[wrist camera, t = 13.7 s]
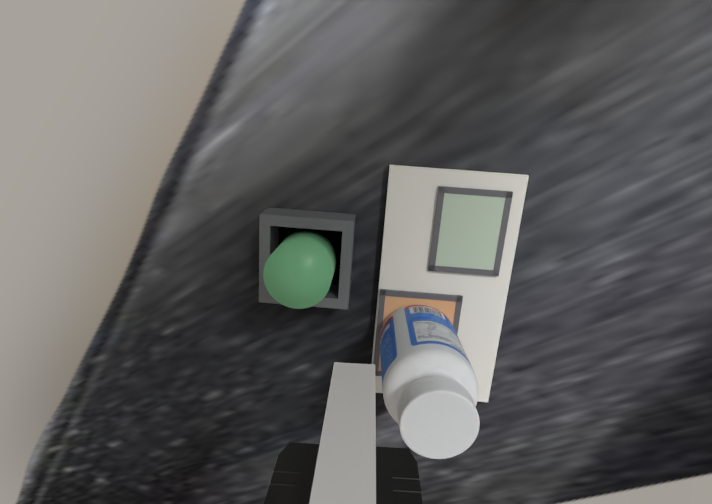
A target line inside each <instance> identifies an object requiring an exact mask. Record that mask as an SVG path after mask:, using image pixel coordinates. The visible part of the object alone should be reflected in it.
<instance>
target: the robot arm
mask: <svg viewBox="0 0 712 504" xmlns="http://www.w3.org/2000/svg"><path fill="white" fill-rule="evenodd" d="M264 504H422V496H421V489H420V481H419V474H418V466H417V462H416V460H415V458H414V457H413V455H412V454H411V452H410V451H409V449H405V448H389V447H376V394H375V364H357V363H339V362H334V366H333V372H332V378H331V383H330V389H329V395H328V400H327V406H326V411H325V417H324V423H323V428H322V434H321V440H320V444H306V443H289V444H288V445H287V446H286V447H285V448H284V450H283V451H282V452H281V453H280V454H279V456H278V459H277V463H276V466H275V469H274V473H273V476H272V479H271V484H270V486H269V489H268V493H267V496H266V499H265V503H264Z"/></svg>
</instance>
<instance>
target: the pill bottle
mask: <svg viewBox="0 0 712 504" xmlns="http://www.w3.org/2000/svg"><path fill="white" fill-rule="evenodd" d="M380 358H381V375H382V390H383V399H384V403H385V406H386V408H387V410H388V412H389V414H390V415H391V417H392V418H393V419H394V420H395V421H396V422H397V423H398V424H399V429H400V433H401V436H402V438H403V440H404V442H405V443H406V445H407V446H408V447H409V448H410V449H411V450H413V451H414V452H416V453H417V454H419V455H421V456H424V457H428V458H432V459H445V458H450V457H453V456H456V455H458V454H461V453H462V452H464V451H465V450H466V449H468V448H469V447H470V446H471V445H472V444H473V442H474V441H475V439H476V437H477V434H478V432H479V425H480V422H479V416H478V412H477V410H476V404H477V401H478V395H479V388H478V381H477V378H476V375H475V373H474V370H473V368H472V366H471V363H470V361H469V359H468V357H467V355H466V353H465V351H464V349H463V346H462V344H461V342H460V340H459V338H458V336H457V334H456V331H455V329H454V327H453V325H452V323H451V322H450V320H449V319H448V317H447V316H446V315H445V314H444V313H443V312H441V311H440V310H438V309H436V308H434V307H432V306H429V305H424V304H413V305H407V306H404V307H402V308H400V309H398V310H396V311H395V312H393V313H392V314H391V315H390V316H389V317H388V318H387V319H386V321H385V323H384V324H383V327H382V329H381V333H380Z"/></svg>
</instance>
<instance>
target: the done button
mask: <svg viewBox="0 0 712 504" xmlns="http://www.w3.org/2000/svg"><path fill="white" fill-rule="evenodd" d="M336 263H337V258H336V253H335V250H334V247H333V246H332V244H331V243H330V241H329V240H328V239H327V238H325V237H324V236H323V235H321V234H319V233H317V232H314V231H308V230H303V231H298V232H295V233H292V234H291V235H289V236H288V237H286V238H285V239H284V240H283V241H282V243H281V244H280V245H279V246H278V247H277V248H276V249H275V251H274V252H273V253H272V254H271V255H270V256H269V258H268V259H267V261H266V263H265V266H264V271H263V279H264V283H265V286H266V289H267V291H268V292H269V294H270V295H271V296H272V297H273V298H274V299H275V300H276V301H277V302H279V303H280V304H282V305H284V306H286V307H289V308H294V309H304V308H309V307H311V306H314V305H316V304H317V303H319V302H320V301H321V300H322V299H323V298H324V297H325V296H326V294H327V293H328V291H329V288H330V285H331V282H332V278H333V275H334V272H335V268H336Z"/></svg>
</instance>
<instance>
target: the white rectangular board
mask: <svg viewBox="0 0 712 504" xmlns="http://www.w3.org/2000/svg"><path fill="white" fill-rule="evenodd" d="M528 178H529V175H523V174H510V173H497V172H483V171H470V170H456V169H443V168H430V167H416V166H403V165H389V176H388V187H387V198H386V209H385V220H384V231H383V242H382V253H381V265H380V276H379V287H378V298H377V309H376V320H375V331H374V342H373V353H372V364H375V393H383V390H382V375H381V358H380V333H381V329H382V327H383V324H384V323H385V321H386V319H387V318H388V317H389V316H390V315H391V314H392V313H393V312H395V311H396V310H398V309H400V308H402V307H404V306H407V305H413V304H424V305H429V306H432V307H434V308H436V309H438V310H440V311H441V312H443V313H444V314H445V315H446V316H447V317H448V319H449V320H450V322H451V323H452V325H453V327H454V329H455V331H456V334H457V336H458V338H459V340H460V342H461V344H462V346H463V349H464V351H465V353H466V355H467V357H468V359H469V361H470V363H471V366H472V368H473V370H474V373H475V375H476V378H477V381H478V388H479V395H478V402H488V399H489V394H490V388H491V382H492V377H493V371H494V366H495V360H496V355H497V349H498V344H499V338H500V333H501V327H502V322H503V316H504V311H505V305H506V299H507V294H508V288H509V283H510V277H511V272H512V266H513V261H514V255H515V250H516V244H517V239H518V233H519V227H520V222H521V216H522V211H523V205H524V200H525V194H526V189H527V183H528Z"/></svg>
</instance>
